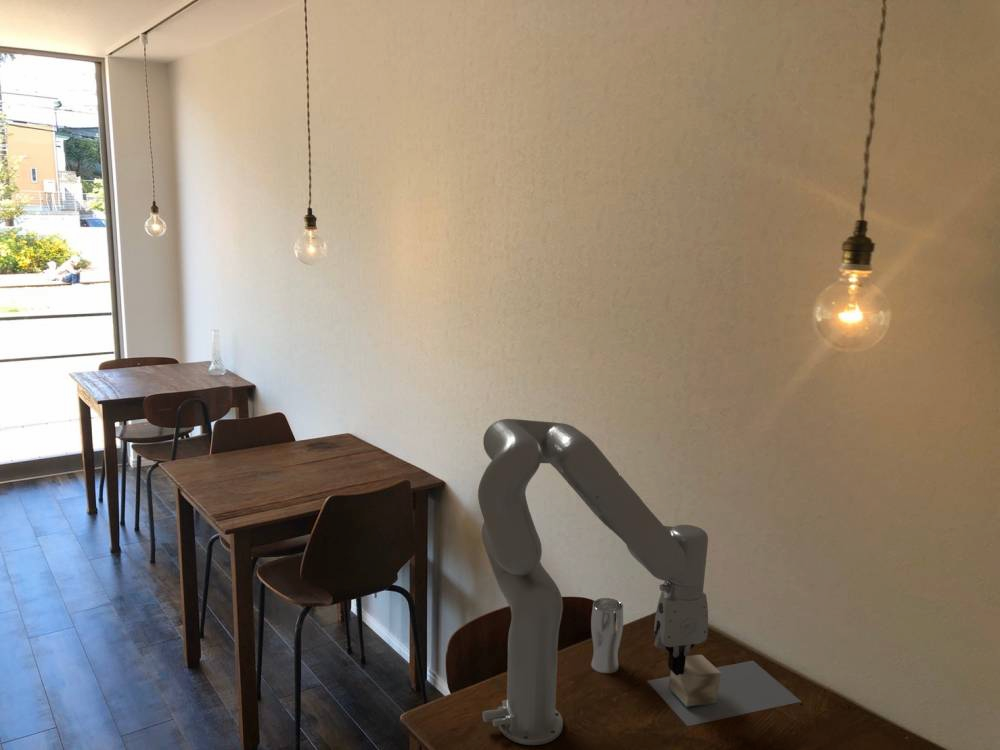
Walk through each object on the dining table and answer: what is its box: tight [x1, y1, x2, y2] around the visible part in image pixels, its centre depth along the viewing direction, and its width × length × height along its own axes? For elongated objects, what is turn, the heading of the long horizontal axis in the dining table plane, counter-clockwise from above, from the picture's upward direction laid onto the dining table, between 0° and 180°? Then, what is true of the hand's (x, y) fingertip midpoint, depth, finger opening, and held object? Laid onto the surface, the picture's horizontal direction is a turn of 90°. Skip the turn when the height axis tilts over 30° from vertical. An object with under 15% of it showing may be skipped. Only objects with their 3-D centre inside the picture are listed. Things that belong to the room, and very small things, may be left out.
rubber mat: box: [646, 660, 802, 727], centre depth 163 cm, size 27×16×1 cm, turn 109°
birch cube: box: [668, 654, 721, 707], centre depth 160 cm, size 7×7×7 cm
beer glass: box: [590, 597, 624, 674], centre depth 170 cm, size 7×7×15 cm
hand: (675, 671), depth 158 cm, fingers closed
